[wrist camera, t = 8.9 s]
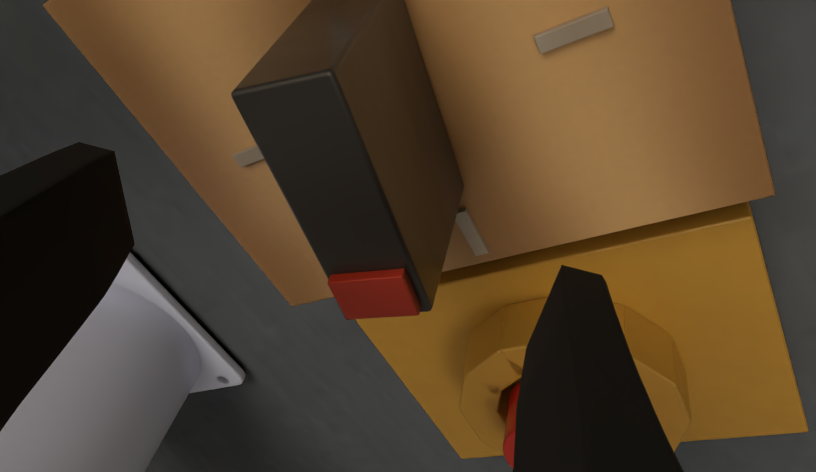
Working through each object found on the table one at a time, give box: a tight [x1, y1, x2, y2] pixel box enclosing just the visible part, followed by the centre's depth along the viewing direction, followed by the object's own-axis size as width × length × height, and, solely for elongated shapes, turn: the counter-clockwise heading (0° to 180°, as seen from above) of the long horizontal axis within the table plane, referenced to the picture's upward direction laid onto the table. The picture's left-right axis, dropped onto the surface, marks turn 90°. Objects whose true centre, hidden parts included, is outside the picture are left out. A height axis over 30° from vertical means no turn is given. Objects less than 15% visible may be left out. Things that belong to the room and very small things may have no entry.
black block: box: [231, 0, 464, 320], centre depth 12 cm, size 5×2×4 cm, turn 19°
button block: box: [355, 201, 808, 459], centre depth 20 cm, size 12×9×4 cm
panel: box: [43, 0, 775, 306], centre depth 15 cm, size 13×10×3 cm
